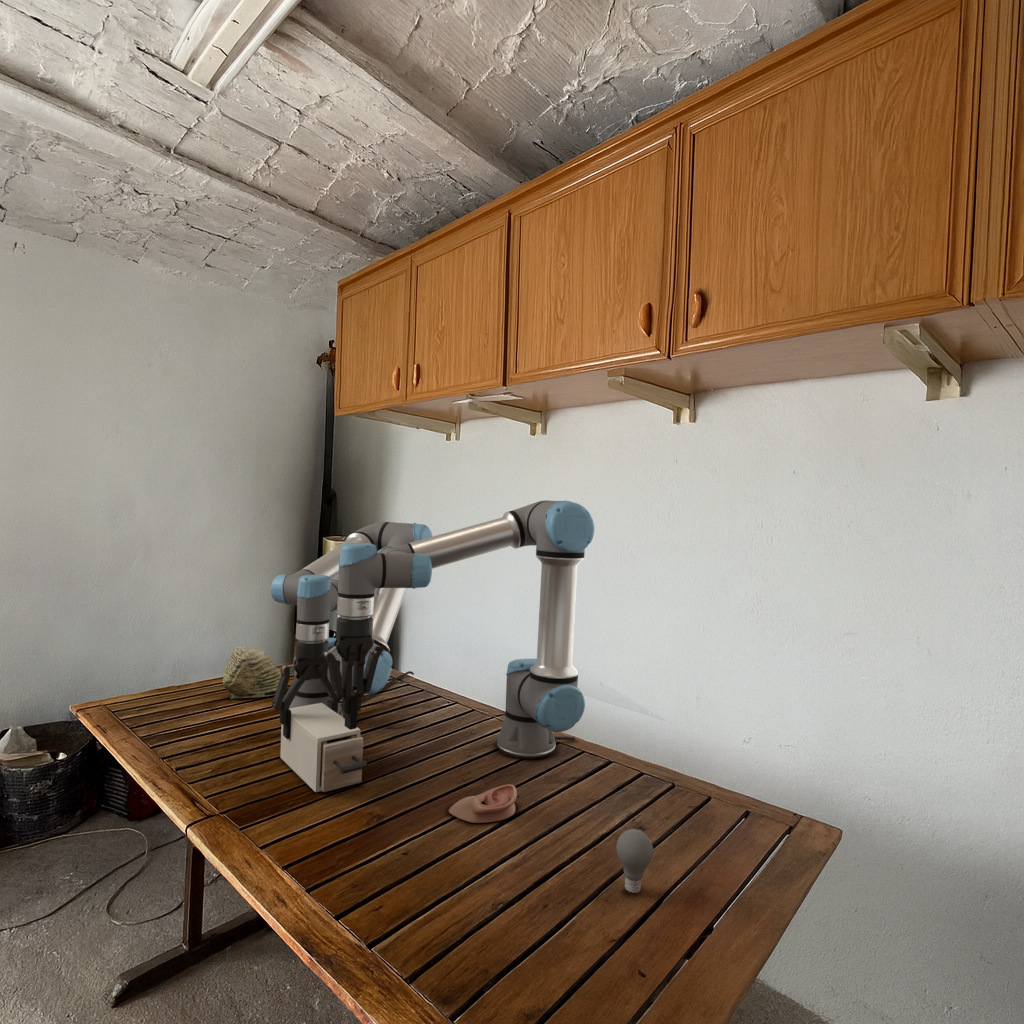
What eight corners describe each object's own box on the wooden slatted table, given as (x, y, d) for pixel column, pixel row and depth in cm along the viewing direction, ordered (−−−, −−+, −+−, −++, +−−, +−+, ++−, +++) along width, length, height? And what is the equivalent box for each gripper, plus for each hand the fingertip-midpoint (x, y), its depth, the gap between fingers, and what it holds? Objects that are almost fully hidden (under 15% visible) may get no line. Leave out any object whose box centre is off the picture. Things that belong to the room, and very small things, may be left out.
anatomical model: (444, 799, 126) (460, 775, 138) (443, 818, 126) (460, 793, 138) (509, 808, 124) (520, 783, 135) (508, 828, 124) (519, 801, 135)
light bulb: (610, 879, 108) (613, 822, 108) (644, 879, 109) (647, 822, 109) (619, 902, 102) (622, 840, 102) (655, 901, 103) (658, 840, 103)
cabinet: (358, 781, 142) (360, 729, 142) (315, 792, 136) (317, 738, 135) (320, 748, 159) (321, 702, 158) (280, 757, 152) (282, 709, 152)
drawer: (373, 791, 135) (375, 746, 135) (334, 802, 130) (336, 755, 129) (324, 750, 155) (325, 711, 155) (288, 758, 150) (290, 717, 150)
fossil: (218, 695, 195) (220, 647, 195) (278, 685, 208) (279, 640, 207) (228, 703, 189) (230, 653, 188) (289, 692, 201) (290, 645, 201)
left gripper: (269, 648, 141) (266, 747, 142) (362, 638, 156) (359, 728, 156) (258, 642, 147) (255, 737, 148) (349, 632, 161) (346, 719, 162)
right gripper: (333, 622, 127) (328, 739, 127) (391, 616, 135) (386, 726, 135) (318, 615, 133) (313, 727, 133) (375, 611, 141) (370, 716, 141)
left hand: (308, 732), depth 152 cm, fingers closed on cabinet, 10 cm apart
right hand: (350, 727), depth 134 cm, fingers closed
